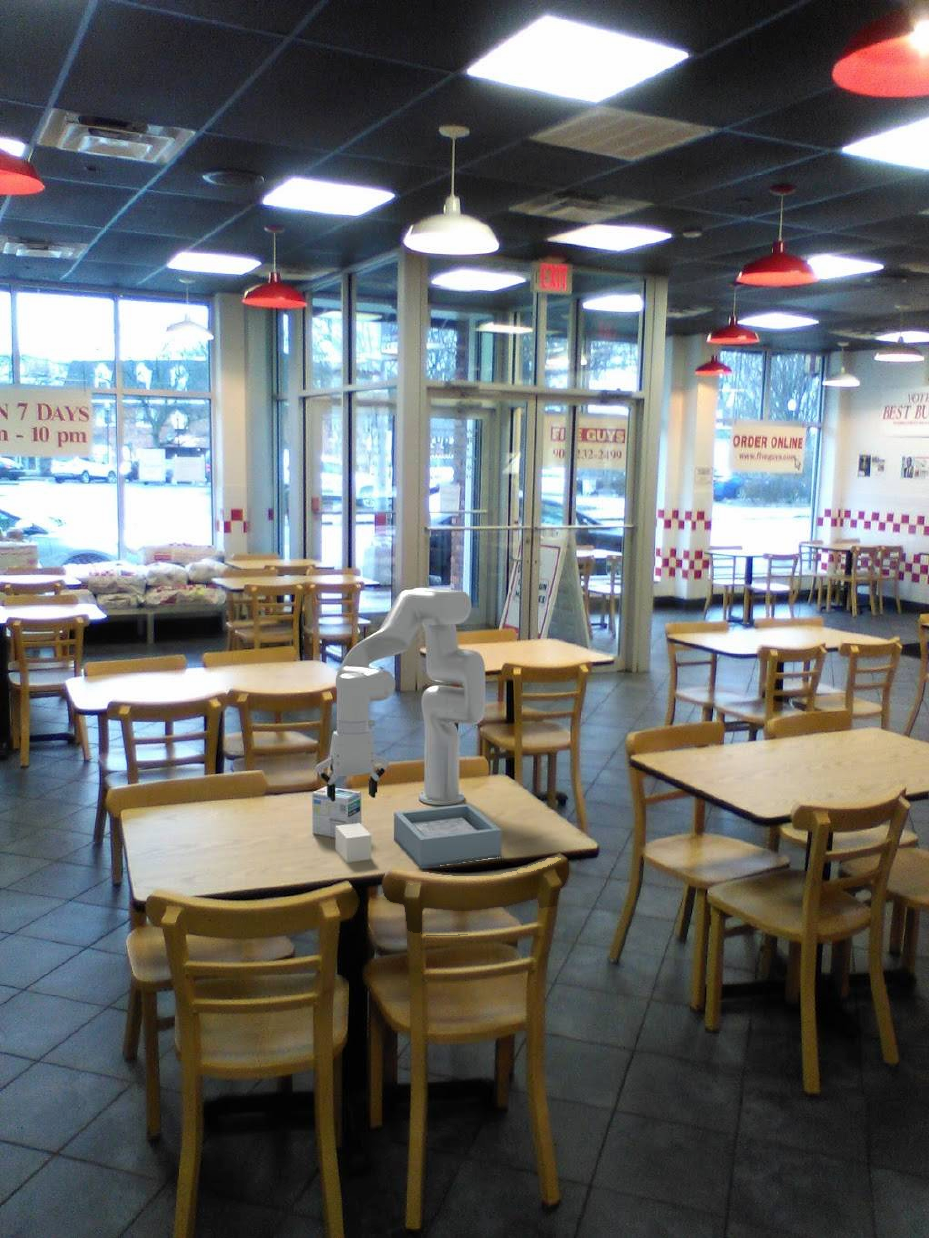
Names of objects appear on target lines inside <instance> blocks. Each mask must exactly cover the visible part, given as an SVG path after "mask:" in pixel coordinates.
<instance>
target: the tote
mask: <svg viewBox="0 0 929 1238" xmlns="http://www.w3.org/2000/svg"><path fill="white" fill-rule="evenodd" d="M461 817H462V818H463V819H464V820H466V821H467V822H468V823H469V824H470V825H471V826H472V827H474V828H475V829H476V830H477V831H469V832H461V833H452V834H444V835H436V836H428V837H425V836H424V835H423V834H422V833H421V832H420V831H419V830H418V829H417V828H416V827H415V826H414V825H413V824H412V823H418V822H426V821H435V820H443V819H452V818H461ZM393 840H394V841H395V843H396V844H397V845H398V846H399V847H400V848H401V850H402V851H403V852H405V854H406V855H407V856H408V857H409V858H410V859H411V860H412V861H413V862H414V863H415V865H416V866H417V867H418V869H420V870H424V869H423V868H425V869H431V867H432V868H437V867H436V866H440V865H447V864H449V865H447V866H451V865H450V864H455V865H459V864H458V863H463V862H469V861H476V860H482V859H488V858H497V857H498V858H499V857H501V858H502V829H501V828H500V827H499V826H497V825H496V824H495V823H494V822H493V821H491V820H490V819H489V818H488V817H487V816H486V815H484V814H483V813H482V812H480V811H479V810H478V809H477V808H475V807H474V806H473V805H472V804H471V803H466V804H456V805H455V804H454V805H445V806H440V807H431V808H429V807H428V808H421V809H410V810H403V811H402V810H401V811H394V812H393ZM463 864H464V863H463ZM440 867H441V866H440Z"/></svg>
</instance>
